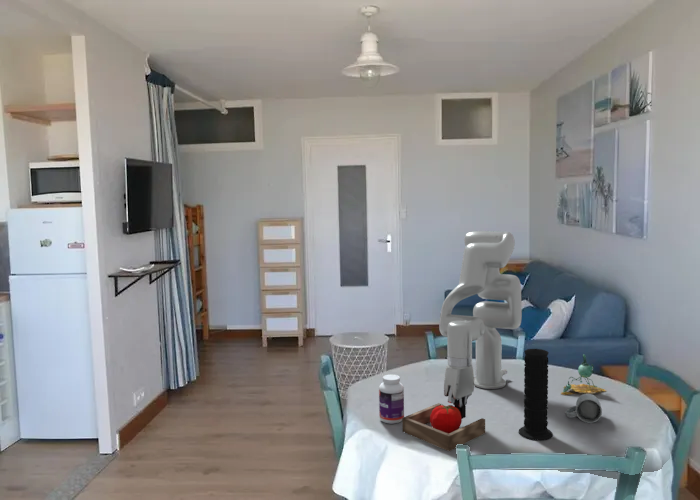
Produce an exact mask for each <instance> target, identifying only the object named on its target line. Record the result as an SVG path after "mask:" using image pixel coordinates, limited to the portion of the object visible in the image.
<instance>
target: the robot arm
mask: <svg viewBox="0 0 700 500" xmlns="http://www.w3.org/2000/svg"><path fill="white" fill-rule="evenodd" d="M463 238H464V239H463V240H464V245H465V247H464V250H463V255H462V262H461V267H460V268H461V269H460V273H459V275H460V276H459V282H458V285H457V286H455V287H454V288H453V289H452V290H451V291H450V292H449V293H448V294H447V296H446V298H445V299H444V300H443V302H442V306H441V309H440V315H439V326H438V328H439V332H440V334H441V335H442V336H443V337H445V338H447V341H446V342H447V345H446V346H447V348H446V349H447V365H446V368H445V370H444V371H445V372H444V377H443V378H444V379H443V396H444V397H447V403H449V404H452V406H454V407H456V408H457V409H458V410H459V411H460V413H461V419H462V420H463V419H465V418H467V417H466V416H467V415H466V411H467V410H466V407H467V404H468V398H470V396H472V394H473V393H474V389H475V387H476V388H479V389H485V390H495V389H502V388H504V387H505V386H506V383H507V382H506V380H505V379H504V378H503V376H506V375H507V374H508V370H507V369H506V368H504V369H502V355H503V354H502V351H503V350H502V347H503V345H502V342H503V341H502V337H501V334H500V333H499V330H497V329H503V330H505V329H507V330H516V329H518V328H520V326H521V324H522V318H523V317H522V315H523V314H522V312H523V311H522V284H521V281H520V278H519V277H518V276H517V275H514V274H507V273H506V274H505V273H504V274H503V273H501V272H500V269H503V268H505V267H506V266H507V264H508V263H509V261H510V259H511V256H512V254H513V252H514V249H515V244H516V243H515V237H514V235H513V234H512V233H511V232H509V231H501V230H500V231H499V230H498V231H495V230H493V231H492V230H491V231H489V230H475V231H469V232H466V234H465V235H464V237H463ZM475 295H477V296H478V297H479V298H481V299H483V300H484V299H485V300H496V301H479V302H478V303H475V305H474V306H473V309H472V315H462V314H461V315H460V314H452V312H453V309H454V307H455V306H456V305H457V304H458V303H459V302H460V301H462V300H464V299H467V298H469V297H472V296H475ZM499 301H500V302H499ZM501 301H505V302H501ZM474 341H475V376H474V366H473V342H474Z"/></svg>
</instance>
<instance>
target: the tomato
mask: <svg viewBox="0 0 700 500" xmlns="http://www.w3.org/2000/svg"><path fill="white" fill-rule="evenodd" d="M462 421H463V419H461V413H460V411H459V410H458V409H457V408H456V407H454V405H453V404H449V405H444V404H441V406H437V407H435V408H434V409H433V410H432V413H431V415H430V423H429V424H430V425H431V426H430V427H432V428H435V429H437V430H440V431H442V432H445V433H448V434H449V433H451V432H453V431H456V430H458V429H460V428H461V424H462Z"/></svg>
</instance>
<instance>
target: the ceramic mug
mask: <svg viewBox="0 0 700 500" xmlns="http://www.w3.org/2000/svg"><path fill="white" fill-rule="evenodd" d="M565 414H566V417H568V418H574V417H577V418H579V420H580V421H582V422H584V423H587V424H592V423H593V424H594V423H596V422H598V421H599V420H600V419H601V417H602V414H603V409H602V406H601V403H600V400H599V399H598V397H597V396H596V395H594V394H586V393H582V394H581V395H579V397H577V399H576V403H575V405H574V406H571V407H569V408H568V409H566V410H565Z"/></svg>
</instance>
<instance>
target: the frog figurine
mask: <svg viewBox="0 0 700 500" xmlns="http://www.w3.org/2000/svg"><path fill="white" fill-rule="evenodd" d="M582 358H583V359H582V360H583V361H581V364H580V365H579V366H578V370H577V372H578V375H579V377H578V378H575V377H573V376H569V378H568V381H567V384H565V385H566V386H563V387H562V388H563V391H561V393H560V395H563V396H569V395H574V394H575V392H577V393H578V394H592V395H594V394H597V393H602V392H607V389H605V388H601V387H598V386H597V385H595V384H594V381H593V380H592V379H591V378H590V377H591V376H592V375H593V374H594V373H595V371H594V368H595V366H594V364H593V363H591V365H590V364H589V363H587V356H586V354H584V353H583V354H582ZM571 378H572V380H571V381H569V380H570V379H571ZM582 378H583V379H584V380H585V381H586V383H587V384H586V383H583V380H582ZM574 380H575V381H578V380H579V382H580V384H574V383H573V382H574ZM590 381H591V383H592V385H591V383H590ZM572 383H573V384H572ZM570 390H572V391H573V392H570Z"/></svg>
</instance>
